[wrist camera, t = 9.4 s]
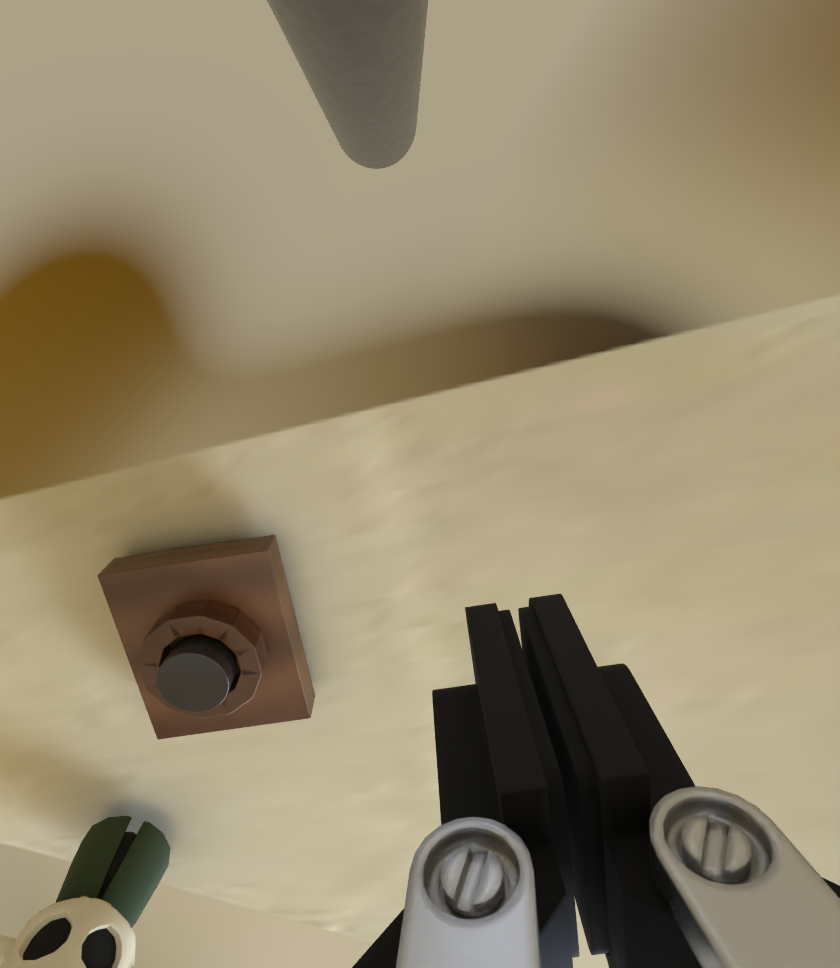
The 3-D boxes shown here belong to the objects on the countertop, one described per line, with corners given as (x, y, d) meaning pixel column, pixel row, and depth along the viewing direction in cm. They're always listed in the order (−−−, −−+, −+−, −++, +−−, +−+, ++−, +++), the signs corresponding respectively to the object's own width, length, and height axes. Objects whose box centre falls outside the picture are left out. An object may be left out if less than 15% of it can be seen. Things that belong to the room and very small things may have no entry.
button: (158, 640, 35) (146, 658, 33) (227, 630, 35) (218, 648, 33) (178, 696, 36) (167, 717, 35) (244, 687, 36) (236, 707, 35)
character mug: (216, 828, 44) (143, 1035, 32) (189, 896, 46) (110, 1116, 34) (67, 785, 43) (-70, 984, 31) (45, 857, 45) (-92, 1072, 33)
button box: (113, 558, 37) (81, 590, 33) (275, 534, 37) (260, 564, 33) (169, 716, 41) (146, 761, 37) (315, 695, 41) (306, 738, 37)
